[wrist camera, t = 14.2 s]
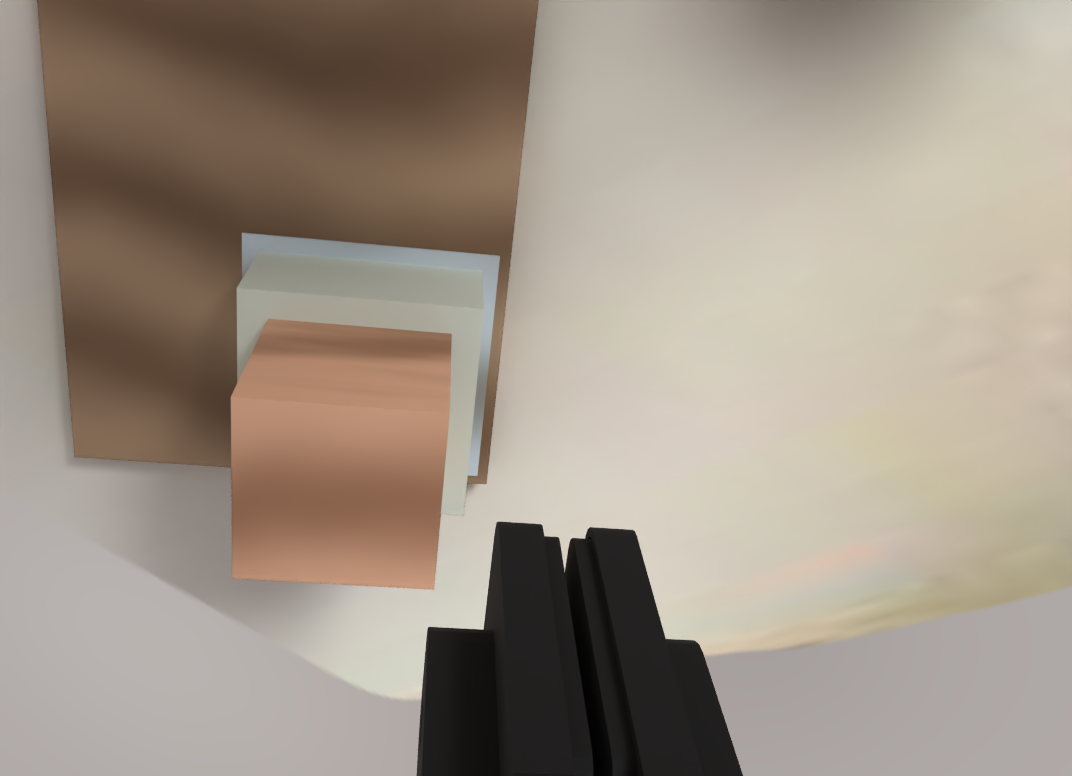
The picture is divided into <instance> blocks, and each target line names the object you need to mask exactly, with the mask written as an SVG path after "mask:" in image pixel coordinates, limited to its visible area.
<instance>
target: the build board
mask: <svg viewBox="0 0 1072 776" xmlns="http://www.w3.org/2000/svg"><path fill="white" fill-rule="evenodd" d="M37 4H38V16H39V29H40V41H41V53H42V65H43V78H44V90H45V102H46V114H47V126H48V139H49V151H50V163H51V175H52V187H53V200H54V212H55V224H56V236H57V249H58V261H59V273H60V285H61V297H62V310H63V322H64V334H65V346H66V358H67V371H68V383H69V395H70V407H71V420H72V432H73V444H74V456H75V457H83V458H98V459H113V460H128V461H143V462H158V463H174V464H189V465H204V466H219V467H231V395H232V393H233V391H234V389H235V387H236V385H237V287H238V285H239V283H240V282H241V280H242V278H243V277H244V275H245V273H246V272H247V270H248V268H249V267H250V265H251V263H252V262H253V260H254V258H255V257H256V255H257V253H258V252H259V251H265V252H276V253H287V254H299V255H310V256H321V257H333V258H344V259H355V260H367V261H378V262H389V263H400V264H412V265H423V266H434V267H446V268H457V269H468V270H480V271H482V278H483V297H484V316H483V326H482V336H481V346H480V356H479V366H478V376H477V387H476V397H475V407H474V417H473V427H472V437H471V447H470V457H469V468H468V478H467V483H476V484H486V482H487V473H488V464H489V455H490V445H491V436H492V427H493V417H494V408H495V399H496V390H497V380H498V371H499V362H500V352H501V343H502V334H503V325H504V315H505V306H506V297H507V288H508V278H509V269H510V260H511V250H512V241H513V232H514V223H515V213H516V204H517V195H518V186H519V176H520V167H521V158H522V148H523V139H524V130H525V121H526V111H527V102H528V93H529V84H530V74H531V65H532V56H533V46H534V37H535V28H536V19H537V9H538V0H37Z"/></svg>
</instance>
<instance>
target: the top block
mask: <svg viewBox="0 0 1072 776" xmlns="http://www.w3.org/2000/svg"><path fill="white" fill-rule="evenodd" d="M451 345H452V334H448V333H436V332H424V331H412V330H400V329H388V328H376V327H364V326H351V325H339V324H327V323H315V322H303V321H291V320H279V319H268V320H267V322H266V325H265V327H264V329H263V331H262V333H261V335H260V337H259V339H258V341H257V343H256V345H255V348H254V350H253V352H252V354H251V356H250V358H249V360H248V362H247V364H246V366H245V368H244V370H243V373H242V375H241V377H240V379H239V381H238V383H237V385H236V387H235V389H234V391H233V393H232V395H231V480H232V578H235V579H253V580H271V581H289V582H307V583H325V584H343V585H361V586H379V587H397V588H415V589H432V590H434V584H435V573H436V562H437V551H438V540H439V528H440V517H441V506H442V495H443V483H444V472H445V461H446V450H447V439H448V427H449V416H450V384H451Z"/></svg>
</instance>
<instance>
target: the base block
mask: <svg viewBox="0 0 1072 776" xmlns="http://www.w3.org/2000/svg"><path fill="white" fill-rule="evenodd" d="M483 316H484V297H483V278H482V271H480V270H468V269H457V268H446V267H434V266H423V265H412V264H400V263H389V262H378V261H367V260H355V259H344V258H333V257H321V256H310V255H299V254H287V253H276V252H265V251H259V252H258V253H257V255H256V257H255V258H254V260H253V262H252V263H251V265H250V267H249V268H248V270H247V272H246V273H245V275H244V277H243V278H242V280H241V282H240V283H239V285H238V287H237V383H238V381H239V379H240V377H241V375H242V373H243V370H244V368H245V366H246V364H247V362H248V360H249V358H250V356H251V354H252V352H253V350H254V348H255V345H256V343H257V341H258V339H259V337H260V335H261V333H262V331H263V329H264V327H265V325H266V322H267V320H268V319H279V320H291V321H303V322H315V323H327V324H339V325H351V326H364V327H376V328H388V329H400V330H412V331H424V332H436V333H448V334H452V345H451V384H450V416H449V427H448V439H447V450H446V461H445V472H444V483H443V495H442V506H441V514H448V515H463V516H464V508H465V498H466V488H467V478H468V468H469V457H470V447H471V437H472V427H473V417H474V407H475V397H476V387H477V376H478V366H479V356H480V346H481V336H482V326H483Z"/></svg>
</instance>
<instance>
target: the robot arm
mask: <svg viewBox="0 0 1072 776" xmlns="http://www.w3.org/2000/svg"><path fill="white" fill-rule="evenodd" d="M417 776H743V775H742V771H741V768H740V765H739V762H738V759H737V756H736V753H735V750H734V747H733V744H732V741H731V738H730V735H729V732H728V728H727V725H726V722H725V719H724V716H723V713H722V710H721V707H720V704H719V701H718V698H717V694H716V691H715V688H714V685H713V682H712V679H711V676H710V673H709V670H708V667H707V664H706V661H705V658H704V655H703V652H702V650H701V648H700V645H699V644H698V643H697V642H696V641H693V640H673V639H665V635H664V632H663V628H662V625H661V621H660V617H659V614H658V610H657V607H656V603H655V600H654V596H653V592H652V589H651V585H650V582H649V578H648V575H647V571H646V567H645V564H644V560H643V557H642V553H641V550H640V546H639V542H638V539H637V535H636V533H635V531H633V530H624V529H608V528H592V527H590V528H589V529H588V531H587V534H586V538H585V539H578V538H572V539H571V540H570V544H569V549H568V555H567V562H566V569H565V572H564V566H563V559H562V553H561V546H560V541H559V538H558V537H546V536H544V532H543V526H542V525H541V524H528V523H512V522H497V524H496V529H495V536H494V544H493V553H492V562H491V571H490V579H489V588H488V597H487V606H486V614H485V623H484V630H477V629H457V628H438V627H428V631H427V641H426V652H425V663H424V675H423V687H422V700H421V715H420V729H419V745H418V762H417Z"/></svg>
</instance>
